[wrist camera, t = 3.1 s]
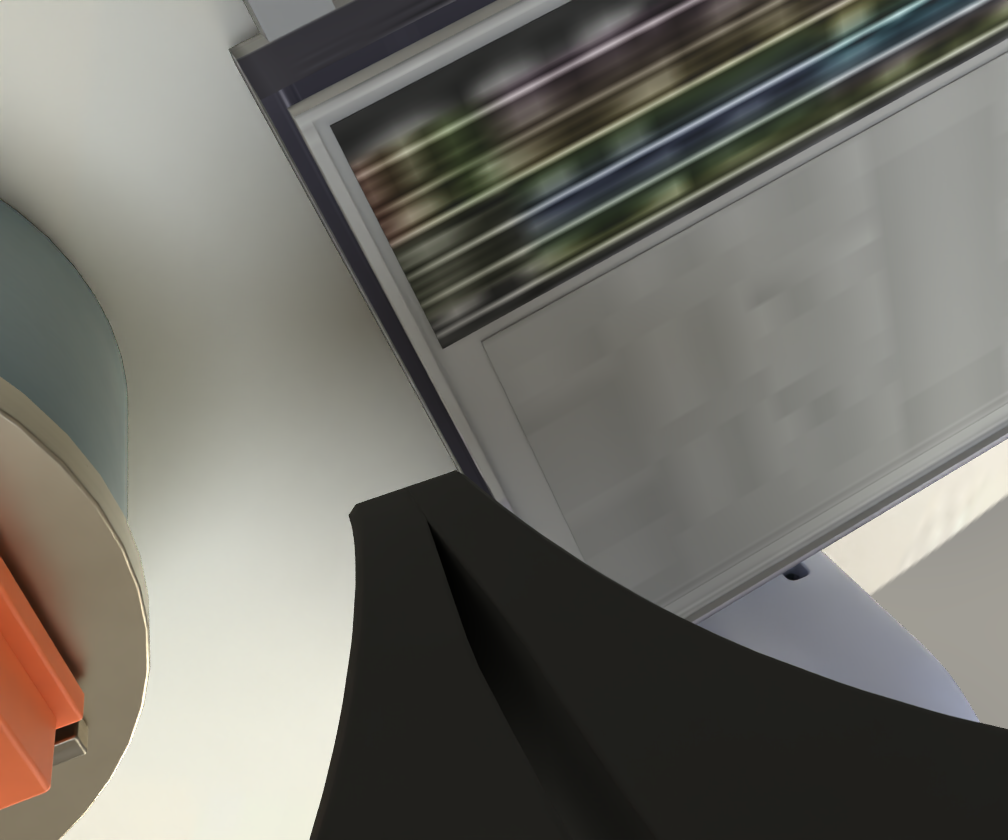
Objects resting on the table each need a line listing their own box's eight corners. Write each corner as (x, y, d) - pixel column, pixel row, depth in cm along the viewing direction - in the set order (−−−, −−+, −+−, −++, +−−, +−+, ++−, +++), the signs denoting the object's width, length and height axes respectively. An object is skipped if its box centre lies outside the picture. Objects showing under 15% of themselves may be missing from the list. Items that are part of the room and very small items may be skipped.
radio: (606, 733, 21) (69, -258, 10) (525, 593, 25) (88, -205, 14) (1406, 250, 23) (1755, -1036, 12) (1206, 197, 27) (1317, -780, 16)
